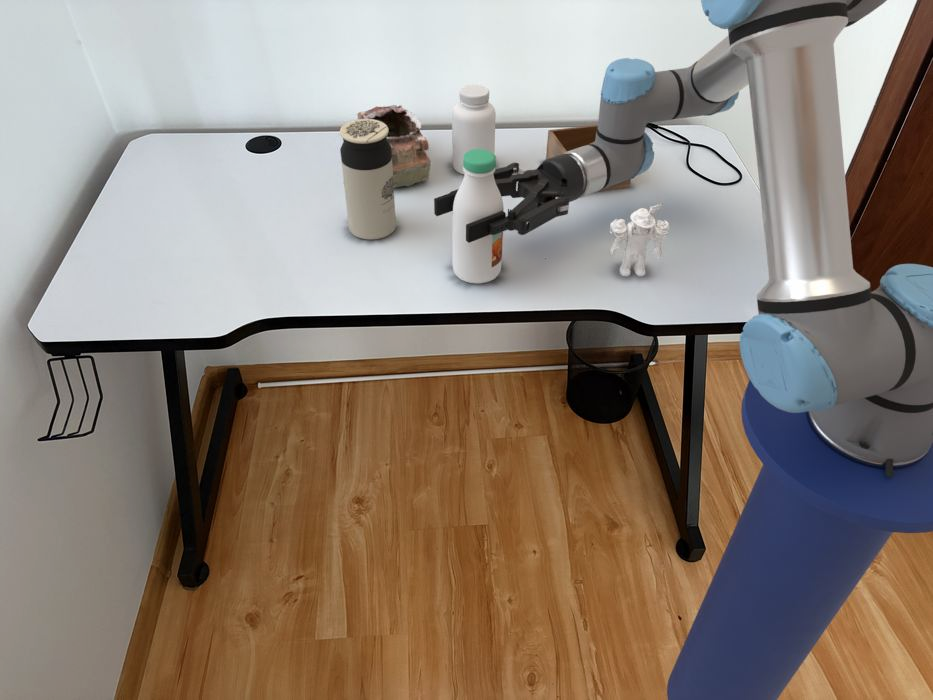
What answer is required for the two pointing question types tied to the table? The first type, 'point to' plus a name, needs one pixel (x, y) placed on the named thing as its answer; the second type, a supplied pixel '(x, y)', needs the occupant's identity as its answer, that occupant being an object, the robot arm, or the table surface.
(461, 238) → the milk bottle
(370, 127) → the travel mug
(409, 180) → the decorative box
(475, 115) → the pill bottle
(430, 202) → the table surface
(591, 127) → the wooden box
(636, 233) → the flower shoulder figurine
